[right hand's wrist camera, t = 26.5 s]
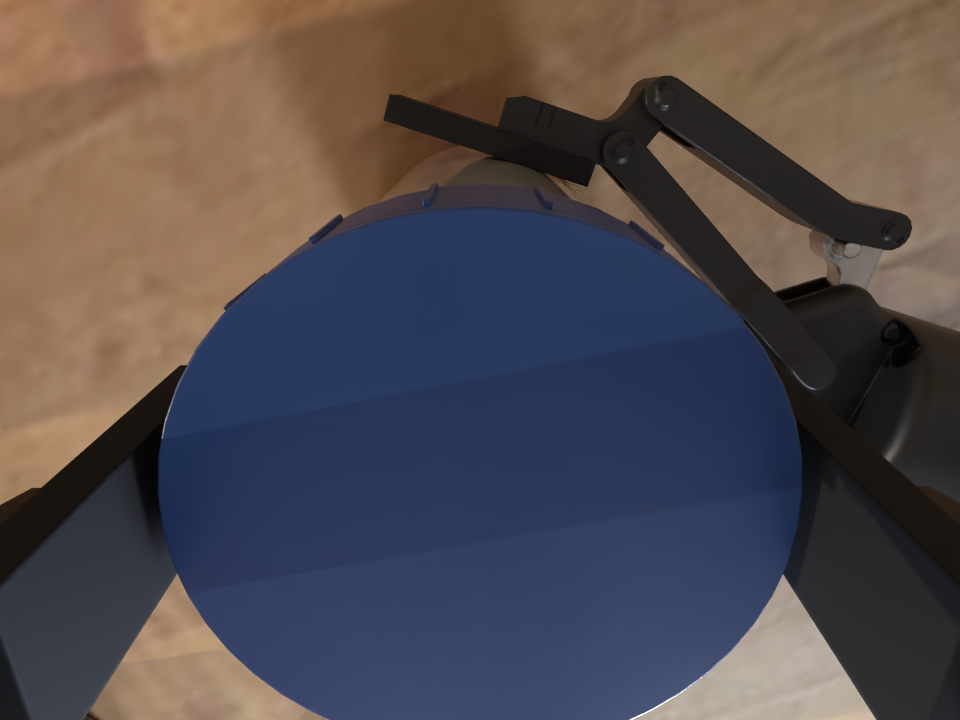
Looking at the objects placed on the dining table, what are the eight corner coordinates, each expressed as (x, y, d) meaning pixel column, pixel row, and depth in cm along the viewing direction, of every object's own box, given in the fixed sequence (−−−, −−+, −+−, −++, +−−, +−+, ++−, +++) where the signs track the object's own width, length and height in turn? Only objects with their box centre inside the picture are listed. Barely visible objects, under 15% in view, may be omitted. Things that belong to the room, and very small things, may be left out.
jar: (620, 279, 29) (839, 557, 11) (453, 381, 31) (418, 757, 13) (511, 97, 26) (576, 89, 9) (334, 222, 28) (87, 429, 10)
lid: (660, 75, 10) (712, 67, 8) (799, 567, 13) (863, 661, 11) (105, 315, 11) (13, 367, 9) (362, 702, 15) (341, 810, 13)
